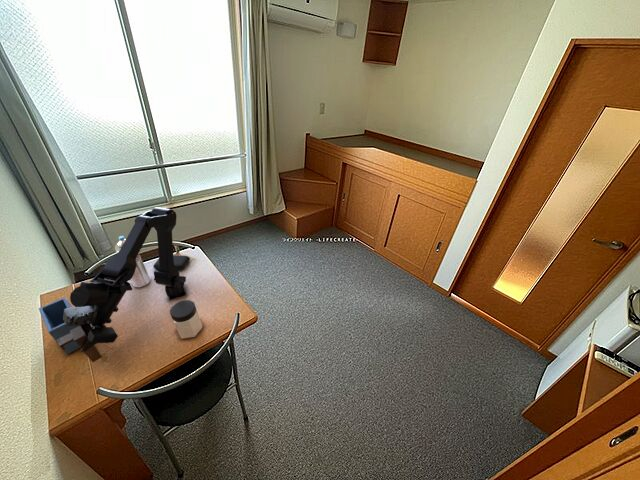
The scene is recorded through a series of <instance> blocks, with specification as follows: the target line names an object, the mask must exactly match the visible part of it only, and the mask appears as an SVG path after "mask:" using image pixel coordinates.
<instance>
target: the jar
mask: <svg viewBox="0 0 640 480" xmlns="http://www.w3.org/2000/svg"><path fill="white" fill-rule="evenodd" d="M169 315H170V317H171V319H172V322H173V324H174V326H175V329H176V331H177V333H178V336H179V338H180V339H182V340H183V339H190V338H195V337H196V336H197V335H198V333H199V332H200V331H201V330H202V329H203V324H202V321H201V318H200V314H199V311H198V310H197V306H196V304H195V302H194V301H193V300H191V299H183V300H180V301H177V302H175V303H173V305H172V306H171V307H170V310H169Z"/></svg>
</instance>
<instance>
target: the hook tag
mask: <svg viewBox="0 0 640 480" xmlns="http://www.w3.org/2000/svg"><path fill="white" fill-rule="evenodd" d="M70 332H71V333H69V334H67V335H65V336H63V337H61V338H59V339H57V342H58V343H57V342H56V343H57V344H58V346H59V348H61V350H62V351H64V350H65V349H66V348H65V346H64V345H66V344H68V343H70V342H72V341H74V340H75V342H76V343H77V344H78V345H79V347H80V348H79V349H80V350H81V349H82V347H83V344H84V342H85V340H86V338H87V337H86V336H85V334H84V332H85V331H84V329H83V328H82V327H81V326H78V327H76V328H74V329H72V330H70ZM83 353H84V354H85V355H86V356H87V358H88V359H89V360H90V361H91V363H95V362H97V361H98V360H100V359H102V358H103V355H102V353H101V351H100V350H99V348H98V346H97V344H95V345H94V346H93V347H91V348H90V349H88V350H87V351H85V352H83Z"/></svg>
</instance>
